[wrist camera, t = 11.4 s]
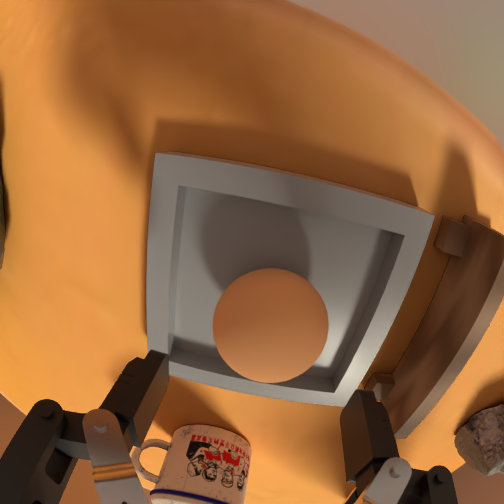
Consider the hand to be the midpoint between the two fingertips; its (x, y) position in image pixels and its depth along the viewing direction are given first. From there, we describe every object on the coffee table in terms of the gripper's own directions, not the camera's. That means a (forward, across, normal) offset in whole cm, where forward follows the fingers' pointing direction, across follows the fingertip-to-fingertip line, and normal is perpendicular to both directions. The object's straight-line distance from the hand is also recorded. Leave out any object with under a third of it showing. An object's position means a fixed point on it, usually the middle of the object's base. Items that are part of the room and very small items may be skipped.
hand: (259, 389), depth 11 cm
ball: (+4, 0, 0) cm, 4 cm away
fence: (+8, -12, 0) cm, 14 cm away
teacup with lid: (+8, +3, +19) cm, 21 cm away
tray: (+8, 0, 0) cm, 8 cm away
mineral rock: (+8, -34, +13) cm, 37 cm away
